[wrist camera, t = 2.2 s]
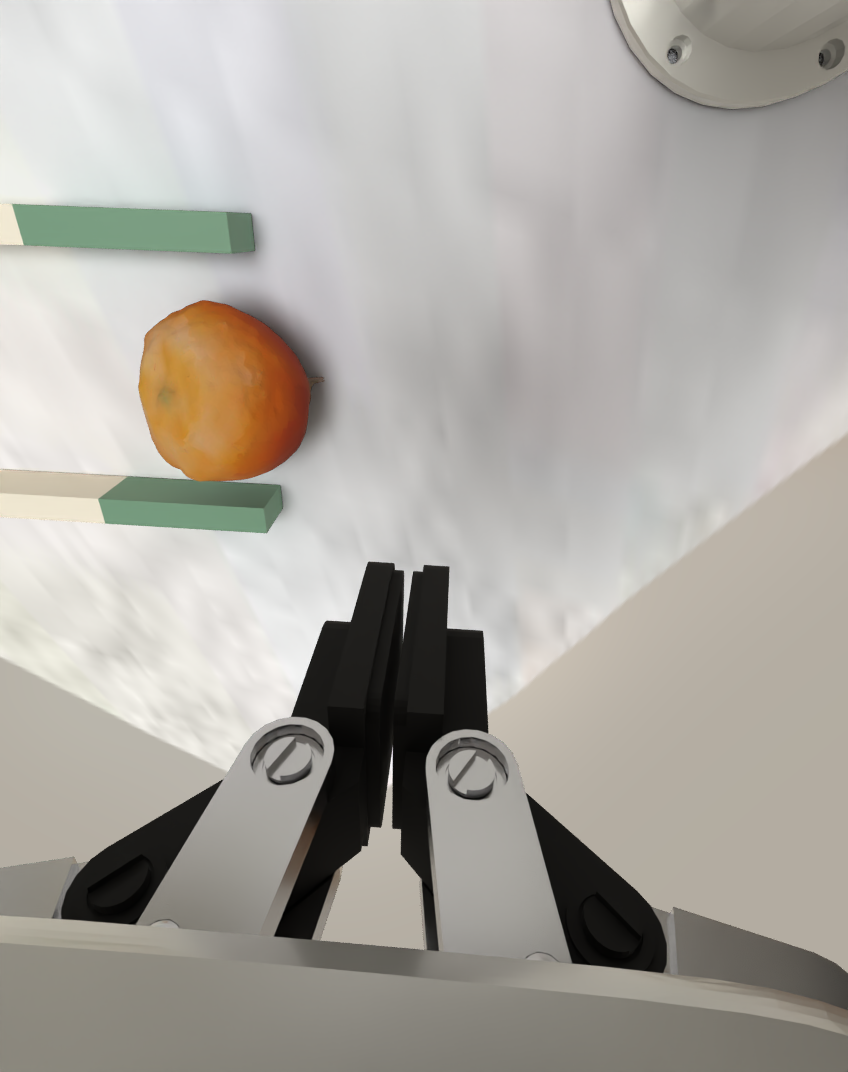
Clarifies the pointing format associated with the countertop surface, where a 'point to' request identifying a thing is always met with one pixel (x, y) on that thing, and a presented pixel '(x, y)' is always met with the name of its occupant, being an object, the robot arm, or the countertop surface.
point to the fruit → (222, 393)
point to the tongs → (122, 494)
